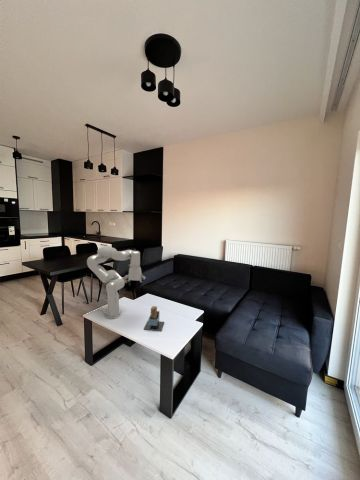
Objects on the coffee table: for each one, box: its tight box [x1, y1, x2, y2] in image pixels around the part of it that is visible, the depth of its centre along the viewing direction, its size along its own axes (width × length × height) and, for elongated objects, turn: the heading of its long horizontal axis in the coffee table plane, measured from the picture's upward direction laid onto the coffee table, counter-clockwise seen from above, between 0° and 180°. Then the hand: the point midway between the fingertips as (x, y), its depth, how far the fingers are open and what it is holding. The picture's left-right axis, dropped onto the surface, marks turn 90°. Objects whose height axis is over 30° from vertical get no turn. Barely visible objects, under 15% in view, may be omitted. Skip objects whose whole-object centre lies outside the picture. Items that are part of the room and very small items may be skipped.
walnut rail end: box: [150, 305, 158, 319], centre depth 154 cm, size 4×4×12 cm
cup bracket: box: [143, 310, 165, 332], centre depth 156 cm, size 14×12×12 cm
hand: (135, 286), depth 161 cm, fingers open, 9 cm apart
